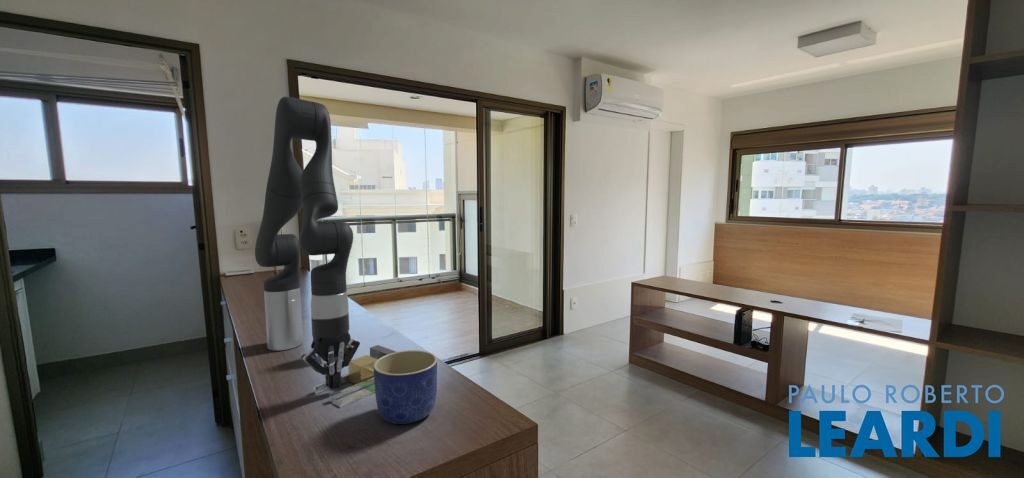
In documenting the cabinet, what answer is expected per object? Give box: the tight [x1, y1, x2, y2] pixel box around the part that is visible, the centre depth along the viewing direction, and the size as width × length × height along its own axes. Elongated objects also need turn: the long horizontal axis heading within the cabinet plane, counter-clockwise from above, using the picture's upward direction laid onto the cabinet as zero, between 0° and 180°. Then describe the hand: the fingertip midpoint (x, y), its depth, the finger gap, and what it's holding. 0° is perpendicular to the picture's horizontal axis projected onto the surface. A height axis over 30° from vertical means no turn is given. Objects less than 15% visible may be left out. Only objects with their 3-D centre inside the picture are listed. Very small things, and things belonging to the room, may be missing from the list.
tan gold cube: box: [347, 354, 378, 385], centre depth 94 cm, size 8×5×5 cm, turn 54°
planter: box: [373, 349, 438, 425], centre depth 81 cm, size 12×12×11 cm
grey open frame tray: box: [312, 344, 397, 408], centre depth 93 cm, size 11×17×6 cm, turn 143°
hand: (333, 388), depth 89 cm, fingers closed
